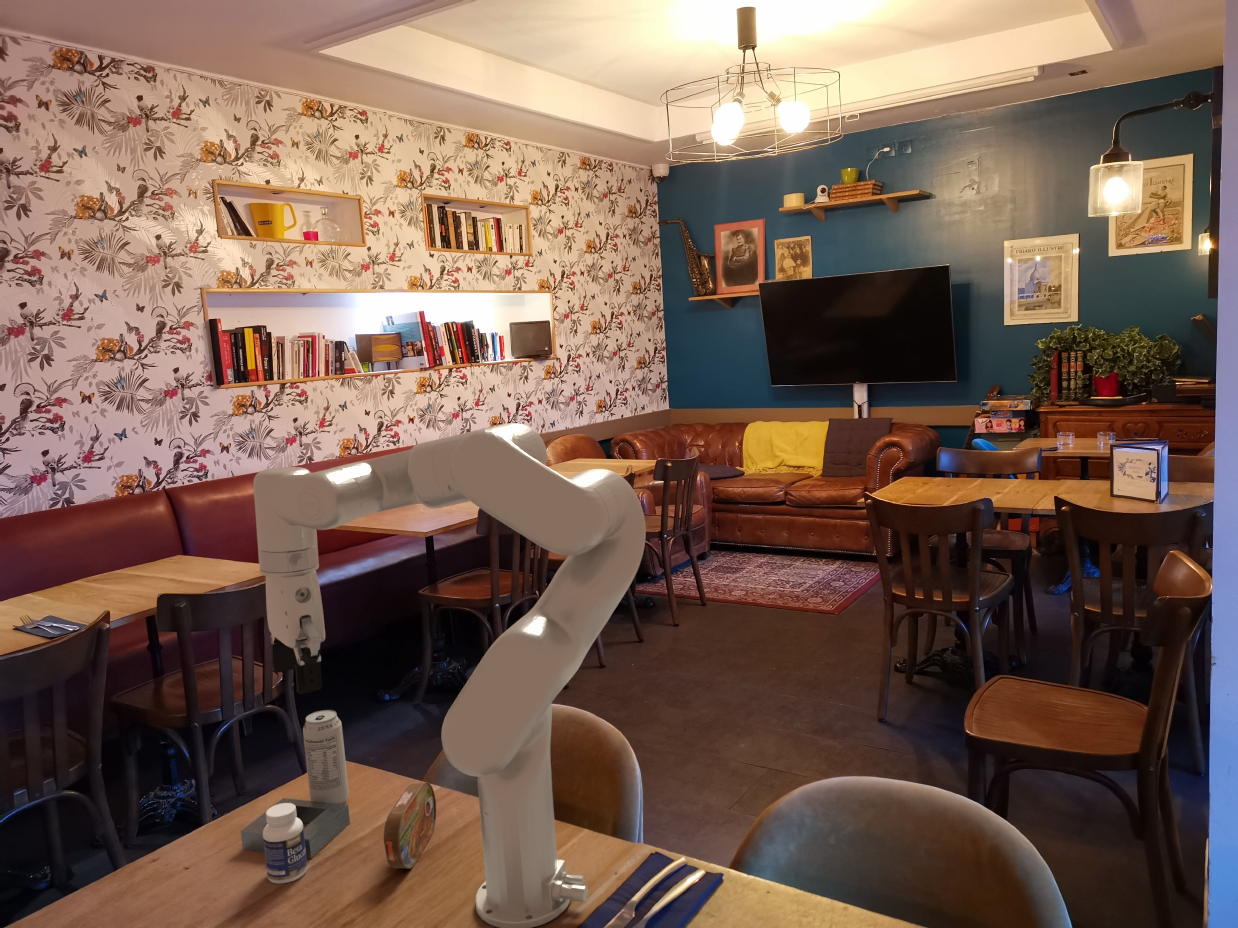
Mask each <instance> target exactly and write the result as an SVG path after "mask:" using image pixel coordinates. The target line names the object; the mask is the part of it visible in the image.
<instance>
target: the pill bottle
mask: <svg viewBox="0 0 1238 928" xmlns="http://www.w3.org/2000/svg"><path fill="white" fill-rule="evenodd" d="M274 805H275V804H274ZM274 805H272V806H271V807H270V808H268V809H267V810H266V811H267V812H266V811H265V812H266V821H267V825H266V827H265V828H264V830H263V842H264V850H265V853H264V859H265V865H266V866H265V867H266V876H267V879H268V881H269V882H271V883H272V884H278V885H279V884H280V885H281V884H286V883H291V882H294V881H297V880H298V879H300V878H301V877H303V876H304V874H306V872H307V870H308V858H306V849H305V839H304V830H303V829H304V824H303V823H302V821H301V820H300V819H299V818H297V817H296V816H297V815H296V814H297V813H296V806H295V805H294V804H292V803H282V804H278V805H275V806H274Z"/></svg>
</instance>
